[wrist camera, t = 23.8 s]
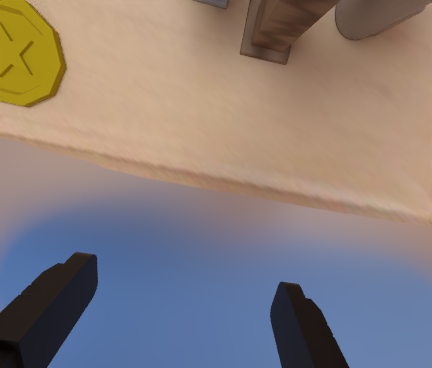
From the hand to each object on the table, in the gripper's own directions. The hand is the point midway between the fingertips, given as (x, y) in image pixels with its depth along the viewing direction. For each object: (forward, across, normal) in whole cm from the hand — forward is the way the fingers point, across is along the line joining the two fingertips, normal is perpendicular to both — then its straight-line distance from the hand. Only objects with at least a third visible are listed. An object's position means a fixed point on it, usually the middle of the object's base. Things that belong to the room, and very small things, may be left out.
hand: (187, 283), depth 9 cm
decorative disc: (+36, +37, -10) cm, 53 cm away
